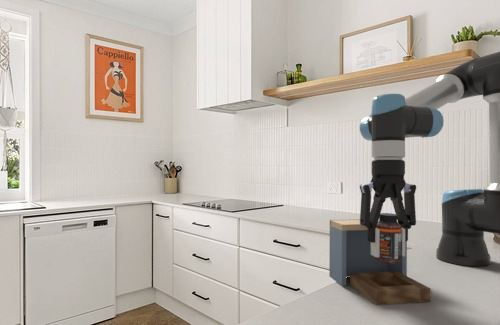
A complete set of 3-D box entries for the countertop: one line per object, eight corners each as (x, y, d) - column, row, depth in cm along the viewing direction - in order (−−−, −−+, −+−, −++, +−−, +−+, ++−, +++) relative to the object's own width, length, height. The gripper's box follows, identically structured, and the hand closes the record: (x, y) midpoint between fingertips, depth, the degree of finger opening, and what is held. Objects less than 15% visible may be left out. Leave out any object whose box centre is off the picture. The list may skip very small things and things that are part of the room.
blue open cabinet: (389, 273, 98) (389, 218, 99) (406, 282, 90) (406, 223, 91) (329, 276, 95) (329, 219, 96) (341, 286, 88) (341, 224, 88)
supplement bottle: (370, 260, 83) (370, 213, 83) (381, 256, 87) (381, 211, 88) (395, 266, 79) (395, 216, 79) (405, 261, 83) (405, 214, 83)
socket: (396, 282, 91) (396, 271, 91) (430, 301, 78) (430, 288, 78) (350, 284, 88) (350, 273, 88) (376, 304, 76) (376, 291, 76)
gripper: (413, 160, 89) (413, 250, 88) (344, 159, 86) (343, 252, 85) (433, 159, 81) (433, 258, 81) (358, 158, 78) (358, 261, 78)
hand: (387, 255), depth 83 cm, fingers closed on supplement bottle, 6 cm apart
